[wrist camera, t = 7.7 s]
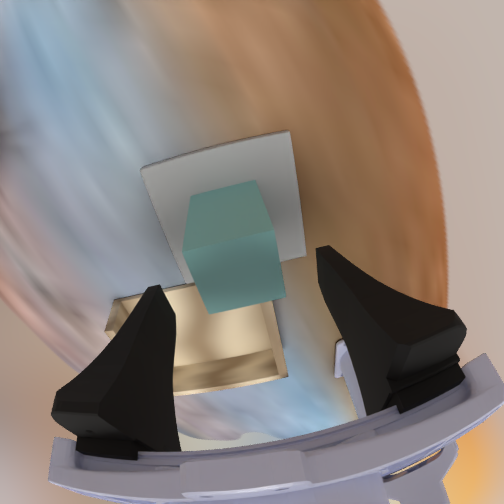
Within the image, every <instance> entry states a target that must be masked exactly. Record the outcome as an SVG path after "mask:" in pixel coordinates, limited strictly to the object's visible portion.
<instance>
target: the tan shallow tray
mask: <svg viewBox="0 0 504 504" xmlns="http://www.w3.org/2000/svg"><path fill="white" fill-rule="evenodd" d="M162 290H163V292H164V294H165V295H166V297H167V299H168V301H169V303H170V305H171V307H172V308H173V310H174V312H175V314H176V332H177V334H176V346H175V357H174V368H173V394H174V396H180V395H189V394H197V393H204V392H211V391H218V390H224V389H231V388H236V387H242V386H247V385H253V384H258V383H263V382H267V381H272V380H276V379H281V378H285V377H288V372H287V367H286V363H285V358H284V353H283V349H282V344H281V340H280V335H279V330H278V326H277V321H276V317H275V312H274V308H273V303H272V301H268V302H264V303H260V304H255V305H251V306H246V307H242V308H237V309H233V310H228V311H224V312H219V313H214V314H208V311H207V309H206V307H205V305H204V302H203V300H202V298H201V296H200V294H199V291H198V289H197V287H196V284H195V282H194V283H189V284H185V285H180V286H176V287H171V288H167V289H162ZM142 295H143V294H139V295H135V296H130V297H125V298H121V299H116V300H114V302H113V305H112V308H111V312H110V315H109V318H108V322H107V325H106V328H105V333H106V334H107V335H108V337H109V338H110V339H111V340H112V339H113V338H114V336H115V335H116V334H117V332H118V331H119V329H120V328H121V327H122V325H123V324H124V322H125V321H126V319H127V318H128V316H129V315H130V313H131V312H132V310H133V309H134V307H135V306H136V304H137V303H138V301H139V300H140V298H141V297H142Z"/></svg>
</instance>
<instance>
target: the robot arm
mask: <svg viewBox="0 0 504 504" xmlns="http://www.w3.org/2000/svg"><path fill="white" fill-rule="evenodd" d="M316 259H317V272H318V283H319V286H320V289H321V292H322V295H323V298H324V300H325V303H326V305H327V307H328V309H329V311H330V313H331V315H332V317H333V319H334V321H335V323H336V325H337V327H338V329H339V331H340V333H341V335H342V337H343V339H344V340H341V341H339V342H337V343H336V355H335V371H334V376H335V378H339V377H342V376H344V379H345V382H346V384H347V387H348V390H349V393H350V395H351V398H352V401H353V404H354V407H355V410H356V413H357V415H358V418H359V419H357V420H354V421H351V422H348V423H345V424H342V425H339V426H335V427H332V428H328V429H325V430H321V431H317V432H313V433H309V434H305V435H301V436H297V437H292V438H288V439H283V440H278V441H273V442H267V443H262V444H255V445H249V446H241V447H234V448H224V449H214V450H201V451H184V452H183V451H181V447H180V442H179V436H178V431H177V424H176V417H175V407H174V394H173V368H174V357H175V346H176V334H177V332H176V314H175V312H174V310H173V308H172V307H171V305H170V303H169V301H168V299H167V297H166V295H165V294H164V292H163V290H162V288H161V286H160V285H155V286H151V287H148V288H147V289H146V291H145V292H144V294H143V295H142V297H141V298H140V300H139V301H138V303H137V304H136V306H135V307H134V309H133V310H132V312H131V313H130V315H129V316H128V318H127V319H126V321H125V322H124V324H123V325H122V327H121V328H120V329H119V331H118V332H117V334H116V335H115V336H114V338H113V339H112V340H111V341H110V343H109V344H108V345H107V346H106V347H105V349H104V350H103V351H102V352H101V353H100V354H99V355H98V356H97V357H96V358H95V359H94V360H93V362H92V363H91V364H90V365H89V366H88V367H87V368H85V369H84V370H83V371H82V372H81V373H80V374H79V375H78V376H76V377H75V378H74V379H73V380H71V381H70V382H69V383H67V384H66V385H65V386H63V387H62V388H61V389H59V390H58V391H57V392H56V396H55V399H54V403H53V408H52V412H51V416H52V417H53V419H54V420H55V421H56V422H57V423H58V424H59V425H61V426H63V427H64V428H65V429H67V430H69V431H70V432H72V433H73V434H75V435H77V442H76V441H74V440H71V439H66V438H60V437H54V441H53V447H52V453H51V460H50V467H49V476H48V481H49V482H50V483H53V484H56V485H58V486H60V487H63V488H65V489H68V490H71V491H74V492H76V493H79V494H83V495H86V496H90V497H94V498H98V499H103V500H107V501H113V502H118V503H123V504H390V503H389V500H388V499H392V500H397V501H400V503H401V504H450V502H449V499H448V496H447V493H446V490H445V487H444V484H443V481H442V480H443V478H444V477H445V475H446V474H447V472H448V471H449V469H450V468H451V466H452V465H453V463H454V461H455V460H456V458H457V456H458V453H457V451H458V445H457V443H456V441H455V440H456V439H458V438H460V437H461V436H463V435H464V434H466V433H467V432H469V431H470V430H472V429H473V428H475V427H476V426H478V425H479V424H481V423H482V422H484V421H485V420H486V419H487V418H488V417H489V416H491V415H492V414H493V413H494V412H495V411H496V410H497V409H499V408H500V407H501V406H502V405H503V404H504V383H503V381H502V380H501V378H500V376H499V374H498V373H497V371H496V369H495V368H494V366H493V364H492V363H491V361H490V359H489V358H488V356H487V355H486V353H483V354H481V355H480V356H478V357H477V358H475V359H473V360H472V361H470V362H468V363H467V364H465V365H464V366H463V367H462V368H460V366H459V364H458V362H459V361H460V358H459V356H458V355H457V351H458V349H459V348H460V346H461V344H462V342H463V340H464V338H465V336H466V330H467V328H466V326H465V325H464V323H463V322H462V320H461V319H460V318H459V316H458V315H457V314H456V313H455V311H454V310H450V309H446V308H442V307H438V306H434V305H431V304H428V303H425V302H422V301H419V300H417V299H414V298H411V297H409V296H407V295H405V294H402V293H400V292H398V291H396V290H394V289H392V288H390V287H388V286H386V285H384V284H382V283H381V282H379V281H377V280H376V279H374V278H373V277H371V276H369V275H368V274H366V273H365V272H363V271H362V270H361V269H359V268H358V267H356V266H355V265H354V264H352V263H351V262H350V261H348V260H347V259H346V258H345V257H343V256H342V255H341V254H339V253H338V252H337V251H336V250H334V249H333V248H332V247H331V246H329V245H327V246H323V247H319V248H316ZM440 449H441V451H440V452H439V453H437V454H436V455H434V456H432V457H431V458H429V459H427V460H425V461H423V462H421V463H419V464H417V465H415V466H413V467H411V468H409V469H407V470H405V471H403V472H400V473H398V474H395V475H390V474H392V473H395V472H397V471H399V470H402V469H404V468H406V467H408V466H410V465H412V464H414V463H416V462H418V461H420V460H422V459H424V458H426V457H428V456H430V455H431V454H433V453H435V452H437V451H438V450H440Z"/></svg>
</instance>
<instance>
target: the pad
mask: <svg viewBox="0 0 504 504" xmlns="http://www.w3.org/2000/svg"><path fill="white" fill-rule="evenodd" d="M140 172H141V175H142V178H143V181H144V183H145V186H146V189H147V191H148V194H149V197H150V199H151V202H152V204H153V207H154V209H155V212H156V214H157V217H158V219H159V222H160V224H161V227H162V229H163V232H164V234H165V237H166V239H167V241H168V244H169V246H170V248H171V251H172V253H173V255H174V258H175V260H176V262H177V264H178V267H179V269H180V271H181V273H182V276H183V278H184V280H185V282H186V284H188V283H192V282H194V280H193V278H192V275H191V273H190V271H189V268H188V266H187V263H186V261H185V259H184V256H183V254H182V247H183V240H184V234H185V227H186V221H187V215H188V209H189V203H190V197H191V196H192V195H196V194H200V193H203V192H207V191H211V190H215V189H219V188H223V187H227V186H231V185H235V184H239V183H243V182H248V181H252V180H256V183H257V186H258V188H259V191H260V193H261V196H262V199H263V201H264V204H265V207H266V209H267V212H268V214H269V217H270V220H271V222H272V225H273V228H274V231H275V236H276V242H277V247H278V253H279V258H280V262H282V261H287V260H291V259H295V258H299V257H303V256H307V255H306V246H305V237H304V228H303V220H302V212H301V204H300V196H299V189H298V182H297V175H296V168H295V162H294V155H293V149H292V142H291V136H290V132H289V131H288V130H285V131H280V132H275V133H269V134H264V135H260V136H255V137H250V138H246V139H241V140H237V141H232V142H228V143H224V144H220V145H216V146H212V147H208V148H205V149H201V150H197V151H194V152H190V153H187V154H183V155H180V156H176V157H173V158H170V159H166V160H163V161H160V162H157V163H154V164H151V165H148V166H145V167H142V168H141V169H140Z"/></svg>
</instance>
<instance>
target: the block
mask: <svg viewBox="0 0 504 504" xmlns="http://www.w3.org/2000/svg"><path fill="white" fill-rule="evenodd" d="M182 254H183V256H184V259H185V261H186V263H187V266H188V268H189V271H190V273H191V275H192V278H193V280H194V282H195V284H196V287H197V289H198V291H199V294H200V296H201V298H202V300H203V302H204V305H205V307H206V309H207V311H208V314H214V313H219V312H224V311H228V310H233V309H237V308H242V307H246V306H251V305H255V304H260V303H264V302H268V301H272V300H276V299H281V298H285V297H286V293H285V287H284V281H283V275H282V270H281V264H280V258H279V253H278V247H277V242H276V236H275V231H274V228H273V225H272V222H271V220H270V217H269V214H268V212H267V209H266V207H265V204H264V201H263V199H262V196H261V193H260V191H259V188H258V186H257V183H256V180H252V181H248V182H243V183H239V184H235V185H231V186H227V187H223V188H219V189H215V190H211V191H207V192H203V193H200V194H196V195H192V196H191V197H190V203H189V209H188V215H187V221H186V227H185V234H184V240H183V247H182Z"/></svg>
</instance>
